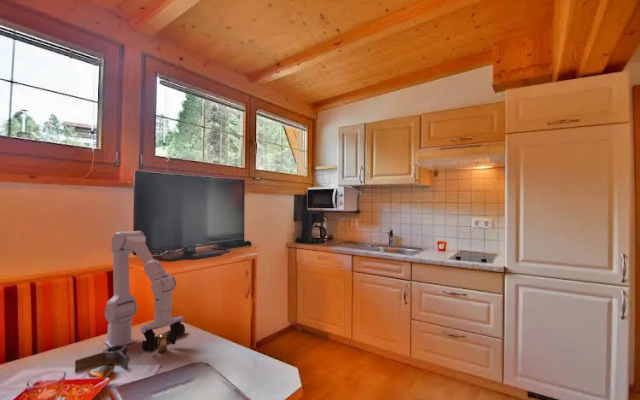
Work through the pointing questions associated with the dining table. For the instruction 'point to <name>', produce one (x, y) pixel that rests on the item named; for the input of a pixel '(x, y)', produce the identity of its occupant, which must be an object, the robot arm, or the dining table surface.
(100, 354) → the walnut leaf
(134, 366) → the dining table surface
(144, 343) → the hand tool
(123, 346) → the grey ring with handle
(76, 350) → the dining table surface
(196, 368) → the dining table surface
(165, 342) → the bronze pin
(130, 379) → the dining table surface
